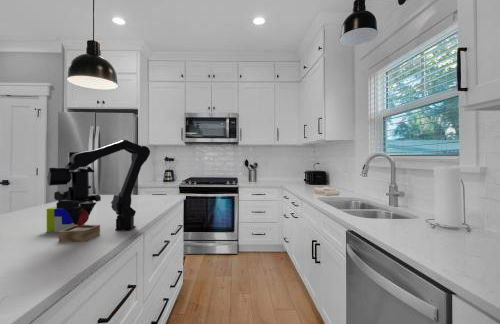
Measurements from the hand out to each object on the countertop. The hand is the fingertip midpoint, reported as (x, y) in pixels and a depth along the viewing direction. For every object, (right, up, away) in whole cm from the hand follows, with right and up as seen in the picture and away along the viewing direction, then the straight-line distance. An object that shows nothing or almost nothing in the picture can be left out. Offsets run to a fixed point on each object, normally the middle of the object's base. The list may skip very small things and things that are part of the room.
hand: (80, 222), depth 104 cm
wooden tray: (0, -6, 0) cm, 6 cm away
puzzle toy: (-15, -6, +13) cm, 21 cm away
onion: (0, -2, 0) cm, 2 cm away
